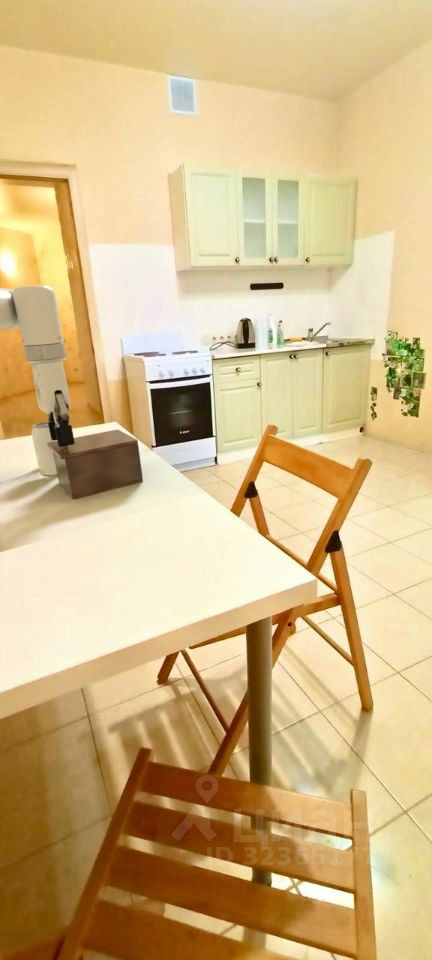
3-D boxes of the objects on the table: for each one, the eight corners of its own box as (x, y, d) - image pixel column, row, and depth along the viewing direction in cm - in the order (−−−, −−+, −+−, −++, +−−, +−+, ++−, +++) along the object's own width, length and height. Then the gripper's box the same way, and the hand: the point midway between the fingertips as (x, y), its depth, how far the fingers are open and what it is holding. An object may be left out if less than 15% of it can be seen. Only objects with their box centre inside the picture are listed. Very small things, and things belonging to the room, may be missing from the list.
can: (49, 467, 114) (39, 421, 109) (72, 467, 112) (63, 421, 108) (34, 476, 108) (24, 428, 104) (59, 476, 106) (49, 427, 102)
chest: (72, 499, 92) (65, 459, 89) (59, 482, 103) (51, 445, 100) (143, 481, 100) (138, 443, 96) (123, 467, 110) (118, 432, 107)
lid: (60, 459, 89) (55, 433, 87) (47, 446, 99) (42, 422, 97) (138, 443, 96) (134, 418, 95) (118, 432, 107) (115, 410, 105)
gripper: (18, 354, 93) (36, 437, 100) (33, 358, 79) (53, 455, 86) (55, 350, 97) (70, 431, 103) (76, 353, 83) (92, 447, 89)
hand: (62, 441), depth 94 cm, fingers open, 5 cm apart
